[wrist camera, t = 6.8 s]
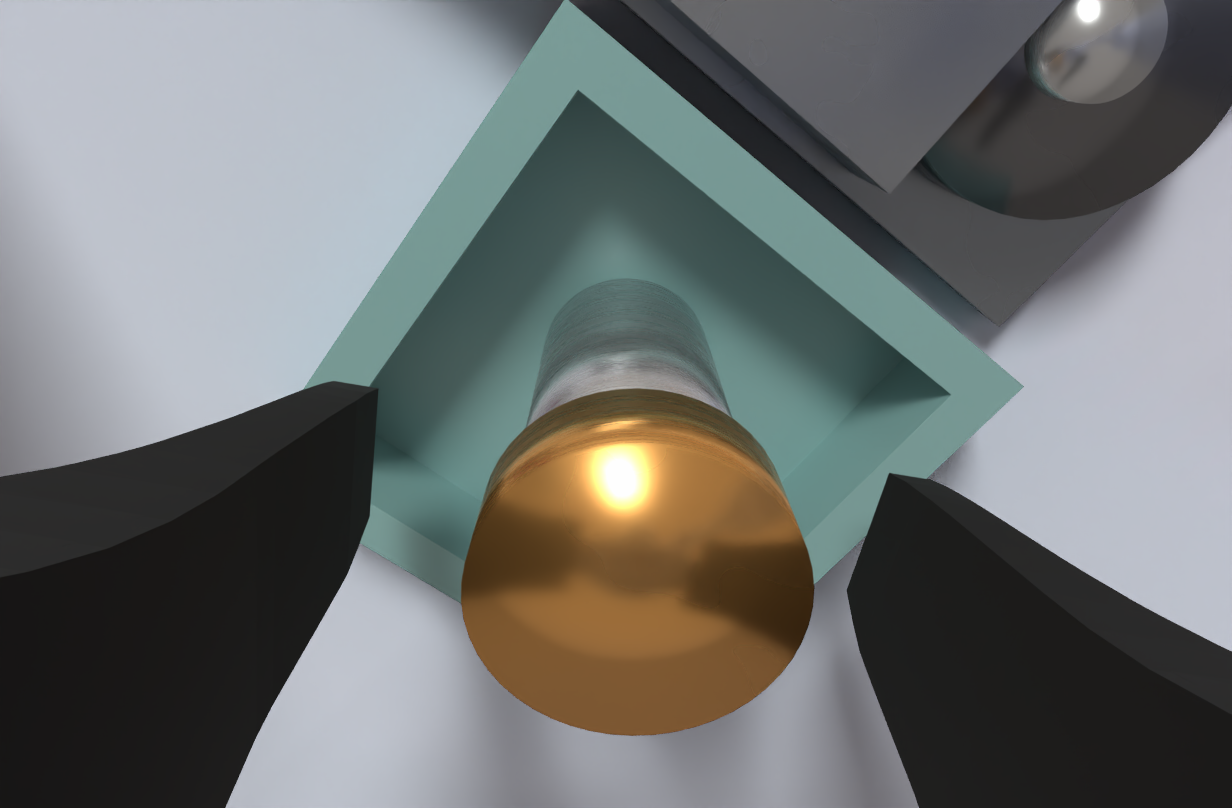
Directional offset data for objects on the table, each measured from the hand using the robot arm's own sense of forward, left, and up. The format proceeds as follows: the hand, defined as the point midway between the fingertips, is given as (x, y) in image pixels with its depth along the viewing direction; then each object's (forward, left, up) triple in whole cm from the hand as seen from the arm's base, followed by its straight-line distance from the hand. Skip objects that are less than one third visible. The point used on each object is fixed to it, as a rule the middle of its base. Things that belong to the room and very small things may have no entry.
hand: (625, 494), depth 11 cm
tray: (0, 0, -4) cm, 4 cm away
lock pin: (0, 0, -4) cm, 4 cm away
